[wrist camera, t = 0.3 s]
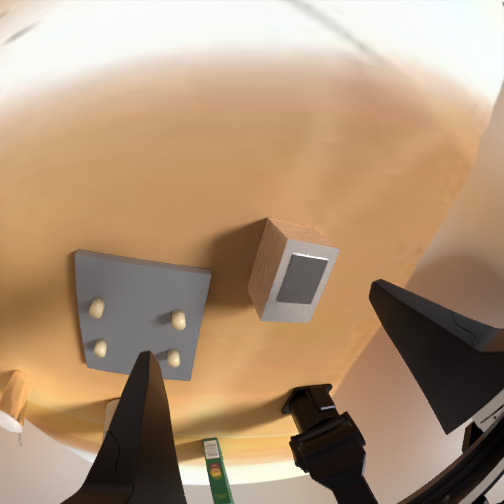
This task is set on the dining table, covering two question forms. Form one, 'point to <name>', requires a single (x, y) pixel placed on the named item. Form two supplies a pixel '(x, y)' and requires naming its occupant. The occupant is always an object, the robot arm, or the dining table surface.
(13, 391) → the milkshake
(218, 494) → the coffee box
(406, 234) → the dining table surface
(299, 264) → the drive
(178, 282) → the pin tray
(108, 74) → the dining table surface
